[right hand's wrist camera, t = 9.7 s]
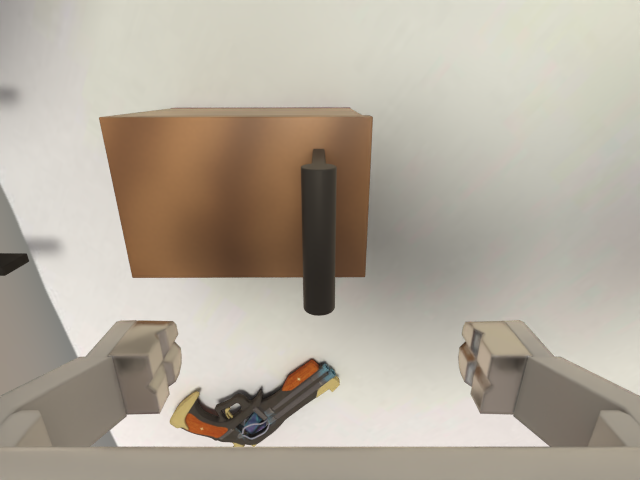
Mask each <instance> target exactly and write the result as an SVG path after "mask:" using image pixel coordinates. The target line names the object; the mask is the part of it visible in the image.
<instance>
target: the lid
mask: <svg viewBox="0 0 640 480" xmlns="http://www.w3.org/2000/svg"><path fill="white" fill-rule="evenodd" d="M99 120H100V125H101V129H102V134H103V139H104V144H105V149H106V153H107V158H108V163H109V168H110V172H111V177H112V182H113V187H114V192H115V196H116V201H117V206H118V211H119V215H120V220H121V225H122V230H123V234H124V239H125V244H126V249H127V254H128V258H129V263H130V268H131V273H132V277H133V278H213V277H303V298H304V309H305V311H306V312H307V313H309V314H312V315H318V316H320V315H326V314H329V313H331V312H332V311H333V310H334V308H335V277H365V269H366V248H367V227H368V206H369V185H370V164H371V143H372V122H373V117H372V116H370V115H307V116H106V117H99Z"/></svg>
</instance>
